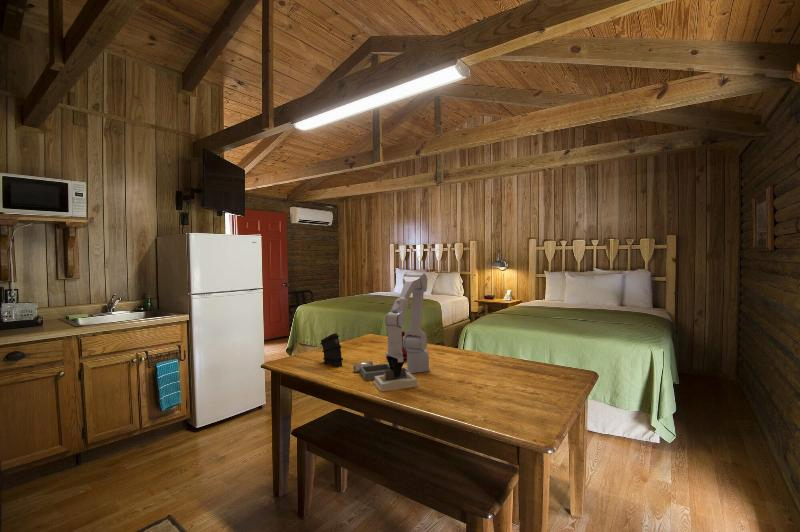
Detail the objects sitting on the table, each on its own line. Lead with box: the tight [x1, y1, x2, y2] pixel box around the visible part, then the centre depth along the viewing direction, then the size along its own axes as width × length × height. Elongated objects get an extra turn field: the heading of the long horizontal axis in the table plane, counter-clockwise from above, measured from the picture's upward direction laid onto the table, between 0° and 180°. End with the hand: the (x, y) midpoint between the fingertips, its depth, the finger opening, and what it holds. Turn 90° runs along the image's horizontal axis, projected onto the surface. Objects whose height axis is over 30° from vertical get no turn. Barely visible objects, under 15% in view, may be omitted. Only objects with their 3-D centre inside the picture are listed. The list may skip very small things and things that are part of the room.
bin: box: [359, 362, 390, 381], centre depth 168 cm, size 13×10×3 cm
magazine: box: [319, 332, 344, 368], centre depth 185 cm, size 4×13×15 cm, turn 45°
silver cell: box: [352, 360, 374, 373], centre depth 174 cm, size 9×4×4 cm
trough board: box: [372, 371, 419, 392], centre depth 156 cm, size 16×10×3 cm, turn 109°
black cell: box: [384, 367, 407, 381], centre depth 156 cm, size 9×4×4 cm, turn 109°
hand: (395, 374), depth 156 cm, fingers closed on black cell, 4 cm apart
